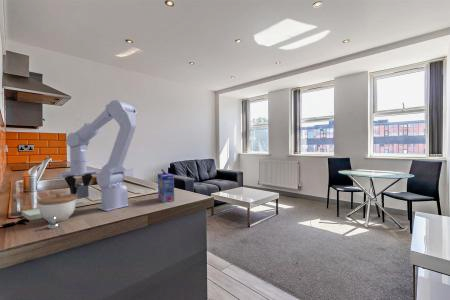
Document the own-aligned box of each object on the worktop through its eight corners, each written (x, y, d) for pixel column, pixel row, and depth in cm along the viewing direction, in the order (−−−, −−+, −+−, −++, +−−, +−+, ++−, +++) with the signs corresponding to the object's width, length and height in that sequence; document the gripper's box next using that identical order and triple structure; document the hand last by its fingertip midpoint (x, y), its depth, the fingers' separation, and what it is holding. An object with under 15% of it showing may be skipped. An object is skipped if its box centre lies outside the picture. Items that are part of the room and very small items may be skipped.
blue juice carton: (157, 197, 108) (157, 168, 107) (168, 196, 111) (168, 168, 110) (162, 202, 99) (162, 170, 99) (174, 200, 102) (174, 170, 102)
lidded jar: (35, 219, 77) (35, 193, 77) (71, 212, 85) (71, 188, 85) (42, 227, 70) (41, 198, 70) (80, 218, 78) (80, 192, 78)
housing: (80, 194, 99) (79, 181, 99) (88, 196, 94) (88, 183, 94) (70, 196, 96) (69, 183, 95) (78, 198, 91) (77, 184, 91)
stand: (44, 210, 87) (44, 206, 87) (53, 214, 82) (53, 210, 82) (21, 215, 82) (21, 211, 82) (30, 220, 76) (29, 215, 76)
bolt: (56, 225, 72) (56, 214, 72) (60, 227, 70) (60, 216, 70) (45, 227, 70) (45, 217, 69) (49, 230, 68) (48, 219, 68)
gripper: (92, 160, 103) (92, 188, 103) (54, 162, 91) (55, 194, 91) (99, 160, 99) (100, 190, 99) (61, 163, 87) (62, 197, 87)
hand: (79, 192), depth 95 cm, fingers closed on housing, 4 cm apart
